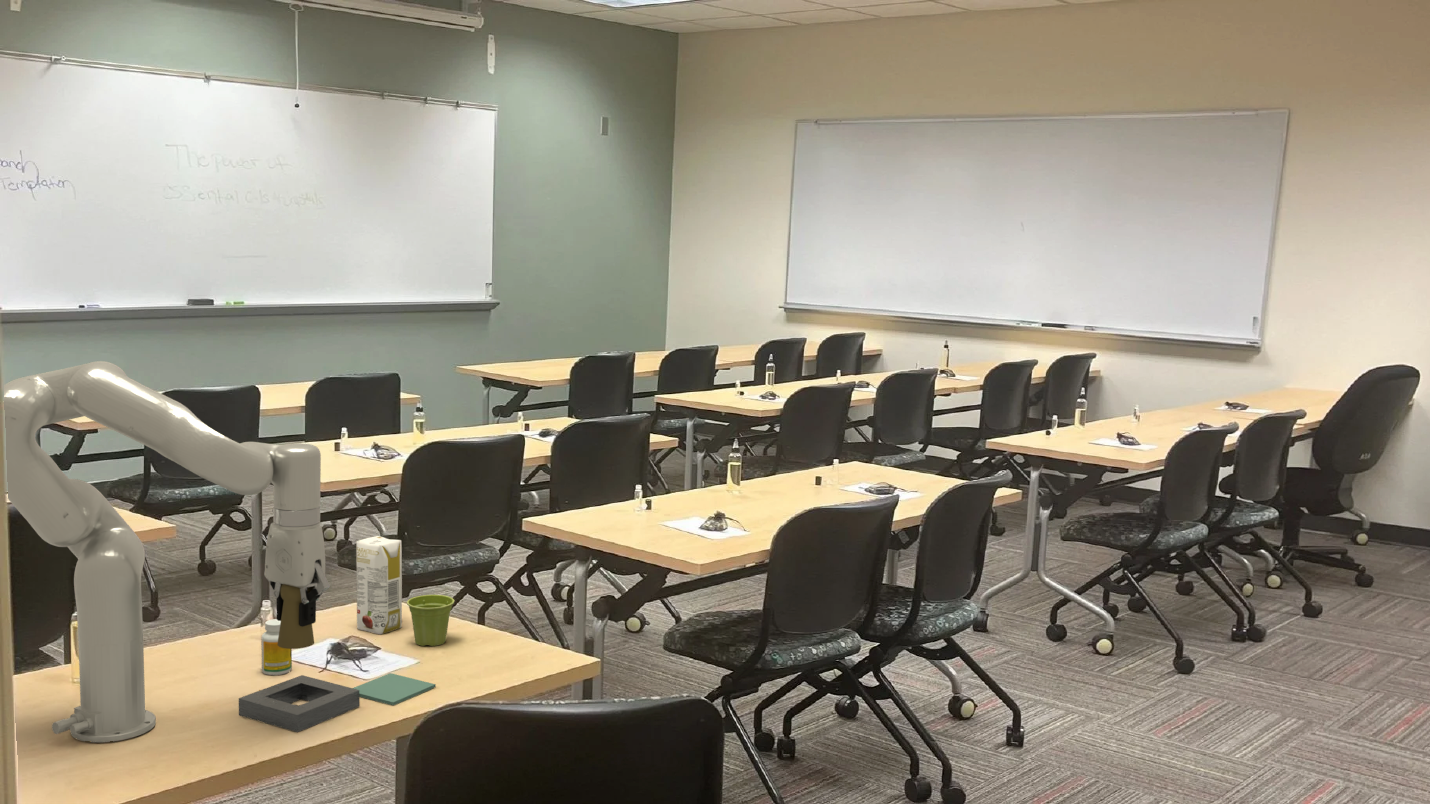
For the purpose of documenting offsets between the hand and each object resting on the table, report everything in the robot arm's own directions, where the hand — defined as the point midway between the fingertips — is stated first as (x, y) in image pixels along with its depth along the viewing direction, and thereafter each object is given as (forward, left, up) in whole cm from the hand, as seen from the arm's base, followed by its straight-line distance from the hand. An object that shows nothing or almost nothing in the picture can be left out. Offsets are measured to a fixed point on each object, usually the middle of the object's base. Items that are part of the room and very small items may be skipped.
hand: (296, 620), depth 213 cm
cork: (0, 0, -4) cm, 4 cm away
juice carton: (+42, +22, -16) cm, 50 cm away
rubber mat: (+16, -6, -16) cm, 24 cm away
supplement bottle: (+12, +19, -16) cm, 28 cm away
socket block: (0, 0, -16) cm, 16 cm away
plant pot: (+41, +7, -16) cm, 45 cm away
